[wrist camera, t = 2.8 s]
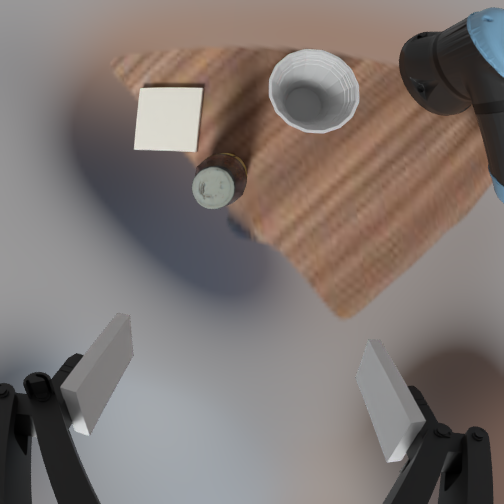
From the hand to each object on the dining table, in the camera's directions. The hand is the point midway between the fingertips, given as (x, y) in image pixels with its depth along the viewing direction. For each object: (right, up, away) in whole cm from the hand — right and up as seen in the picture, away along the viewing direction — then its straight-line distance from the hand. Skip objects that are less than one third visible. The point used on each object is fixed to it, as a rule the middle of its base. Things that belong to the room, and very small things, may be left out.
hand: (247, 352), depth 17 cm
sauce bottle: (-3, +17, +31) cm, 36 cm away
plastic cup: (+8, +28, +28) cm, 40 cm away
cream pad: (-13, +26, +29) cm, 41 cm away
